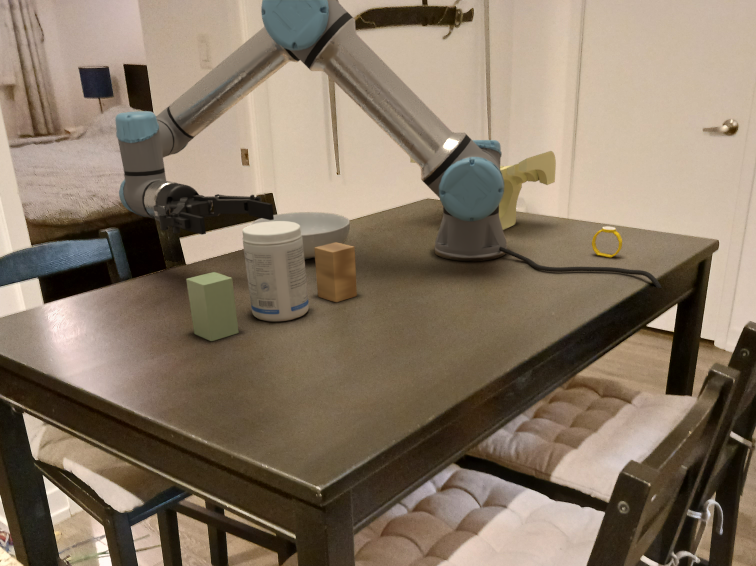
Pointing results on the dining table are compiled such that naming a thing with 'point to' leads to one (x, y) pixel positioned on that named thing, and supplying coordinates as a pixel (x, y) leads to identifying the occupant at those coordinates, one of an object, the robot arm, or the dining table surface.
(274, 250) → the supplement tub
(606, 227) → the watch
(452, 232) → the robot arm
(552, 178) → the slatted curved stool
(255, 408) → the dining table surface
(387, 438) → the dining table surface
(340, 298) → the beech block
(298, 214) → the serving bowl
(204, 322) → the sage block
